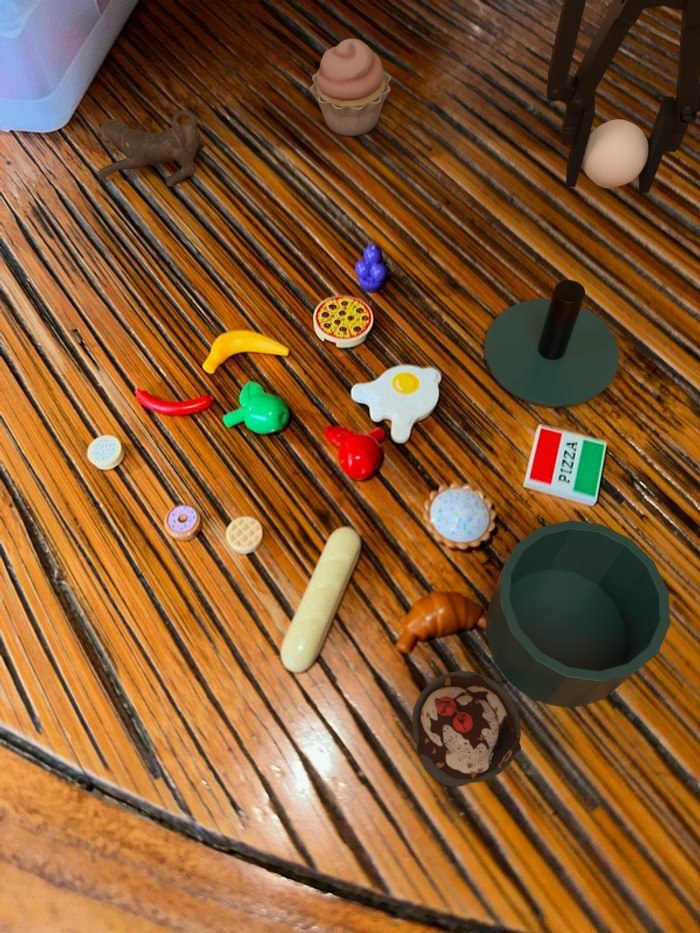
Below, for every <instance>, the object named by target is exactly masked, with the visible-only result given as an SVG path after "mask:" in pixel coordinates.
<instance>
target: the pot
mask: <svg viewBox="0 0 700 933" xmlns="http://www.w3.org/2000/svg"><path fill="white" fill-rule="evenodd" d="M669 593H670V592H669V589H668V588H667V586H666V583H665V581H664V579H663V576H662V575H661V573H660V571H659V568H658V567H657V565H656V563H655V561H654V560H653V559H652V558H651V556H649V555H648V554H647V553H646V552H645V551H644V550H643V549H642V548H641V547H640V546H639V545H638V544H637V543H636V542H635V541H634V540H633V539H632V538H630V537H628V536H626V535H625V534H622V533H620V532H618V531H616V530H614V529H612V528H610V527H608V526H605V525H604V524H601V523H595V522H589V521H587V522H586V521H580V520H571V519H569V520H564V521H560V522H556V523H552V524H548V525H544V526H540V527H538V528H536V529H535V530H533V531H532V532H531V533H530V534H528V535H527V536H525V537H524V538H523V539H522V540H520V541H519V542H517V543H516V544H515V545H514V547H513V548H512V550H511V552H510V554H509V555H508V558H507V560H506V562H505V564H504V565H503V567H502V569H501V571H500V575H499V576H498V580H497V581H496V585H495V587H494V590H493V592H492V595H491V598H490V601H489V602H488V605H487V614H486V620H485V634H486V635H485V636H486V642H487V646H488V649H489V652H490V654H491V656H492V659H493V661H494V663H495V664H496V667H497V668H498V669H499V671H500V672H501V673H502V675H503V676H504V677H505V679H506V680H507V681H508V682H509V683H510V684H511V685H512V686H514V688H516V689H517V690H518V691H519V692H521V693H522V694H524V695H526V696H527V697H529V698H531V699H533V700H535V701H537V702H540V703H543V704H545V705H546V704H547V705H550V706H555V707H563V708H576V707H583V706H587V705H591V704H593V703H597V702H600V701H602V700H605V699H606V698H607V697H608V696H610V695H611V694H612V693H613V692H614V691H615V690H616V689H617V688H619V687H620V686H621V685H622V684H624V683H625V682H626V681H627V680H629V679H630V678H631V677H632V676H633V675H634V674H635V673H637V672H638V671H639V670H640V669H641V668H642V667H643V666H645V665H646V664H647V663H649V662H650V661H651V660H652V659H653V658H654V657H655V656H657V655H658V654H659V652H660V650H661V647H662V645H663V643H664V640H665V638H666V635H667V633H668V631H669V628H670V626H671V615H670V613H671V612H670V594H669Z"/></svg>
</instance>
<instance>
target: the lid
mask: <svg viewBox="0 0 700 933" xmlns="http://www.w3.org/2000/svg"><path fill="white" fill-rule="evenodd" d="M585 297H586V289H585V287H584V285H582V283H580V282H578V281H576V280H573V279H564V280H561V281H559V282H558V283H556V285H555V286H554V289H553V293H552V296H551V298H536V299H534V298H533V299H528V300H525V301H521V302H518V303H516V304H514V305H512V306H510V307H508V308H506V309H505V310H504V311H502V312H501V313H500V314H498V315H497V316H496V318H495V319H494V320H493V321H492V323H490V326H489V328H488V330H487V333H486V335H485V338H484V340H485V341H484V346H483V347H484V349H483V350H484V359H485V362H486V365H487V368H488V370H489V372H490V373H491V375H492V376H493V378H494V380H496V382H497V383H498V384H499V385H500V386H501V387H502V388H503V389H504V390H506V391H507V392H509V394H512V395H513V396H514V397H516V398H518V399H520V400H522V401H524V402H526V403H530V404H532V405H533V404H534V405H536V406H541V407H547V408H568V407H573V406H578V405H583V404H585V403H587V402H590V401H592V400H593V399H595V398H597V397H598V396H600V395H601V394H602V393H604V392H605V391H606V390H607V388H609V386H610V385H611V383H612V382H613V381H614V379H615V376H616V375H617V372H618V369H619V364H620V349H619V346H618V342H617V340H616V337H615V335H614V333H613V332H612V330H611V329H610V328H609V326H608V325H607V324H606V323H605V321H603V320H602V319H601V318H600V316H598V315H596V314H595V313H594V312H593V311H591V310H589V309H587V308H585V307H583V303H584V299H585Z"/></svg>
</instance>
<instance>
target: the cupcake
mask: <svg viewBox="0 0 700 933" xmlns="http://www.w3.org/2000/svg"><path fill="white" fill-rule="evenodd" d="M311 79H312V82H313V84H312V85H311V86H310V88H309V91H310V93H311V94H312V95H313V97H314V98H315V100H316V101H317V102H318V105H319V108H320V110H321V112H322V116H323V119H324V122H325V124H326V126H327V127H328V128H329V129H330V130H331V131H332V132H333V133H335V134H337V135H340V136H343V137H357V136H363V135H365V134H367V133H369V132H371V131H372V130H374V129H375V127H376V126H377V125H378V122H379V120H380V116H381V112H382V108H383V106H384V103H385V101H386V99H387V97H388V95H389V94H390V92H391V87H390V85H389V83H390V81H391V79H392V76H391V75H390V74H389V73H387V72H384V66H383V64H382V61H381V58H380V57H379V56H378V55H377V54H376V53H375V52H374V51H373V50H371V48H370V47H369V46H368V45H367V44H366V43H365V42H363V41H362V40H360V39H357V38H345V39H344V40H342V41H341V42H339V43H338V44H337V45H336V46H333V47H331V48H328V49H327V50H326V51H325V52H324V53H323V56H322V58H321V60H320V64H319V68H318V70H317V72H316V73H314V74H313V75H312V76H311Z"/></svg>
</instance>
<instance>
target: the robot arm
mask: <svg viewBox="0 0 700 933" xmlns="http://www.w3.org/2000/svg"><path fill="white" fill-rule="evenodd" d="M586 3H587V0H563V1H562V5H561V11H560V14H559V18H558V19H559V20H558V24H557V29H556V32H555V33H556V34H555V38H554V43H553V49H552V51H551V56H550V61H549V66H548V70H547V81H546V98H547V100H548V101H550V102H552V103H553V102H555V103H556V102H559V101H560V102H563V103H564V104H565V105H566V106H565V110H564V115H563V120H562V122H561V130H560V131H561V132H560V133H561V134H560V140H561V144H562V145H564V146H570V149H569V152H568V156H567V161H566V174H565V187H566V188H576V186H577V184H578V180H579V176H580V172H581V168H582V161H583V157H584V153H585V150H586V146H587V142H588V139H589V135H590V134H591V132H592V127H593V124H594V120H595V116H596V90H597V89H598V88H599V85H600V83H601V81H602V79H603V78H604V76H605V75H606V72H607V70H608V69H609V67H610V65H611V63H612V62H613V60H614V58H615V56H616V55H617V52H618V51H619V49H620V47H621V45H622V43H623V42H624V41H625V38H626V36H627V35H628V33H629V32H630V29H631V27H632V26H634V25H636V23H637V21H638V20H639V18H640V16H641V14H642V13H643V11H644V9H654V8H659V7H666V8H670V9H672V10H675V11H681V19H680V20H681V22H680V37H679V50H678V51H679V52H678V63H677V64H678V66H677V67H678V68H677V80H676V96H669V95H663V97H662V100H661V103H660V105H659V108H658V112H657V115H656V117H655V120H654V123H653V125H652V129H651V132H650V134H649V137H648V139H647V141H648V158H647V162H646V164H645V166H644V168H643V170H642V171H641V172H640V174H639V175H638V176H637V177H638V193H640V194H649V193H650V191H651V188H652V186H653V183H654V180H655V177H656V175H657V173H658V169H659V167H660V164H661V162H662V159H663V156H664V153H665V152H667V153H676V152H677V151H678V150H679V149H680V148H681V145H682V142H683V140H684V138H685V135H686V133H687V130H688V127H689V125H692V124H693V123H695V122H696V120H697V119H698V118H697V117H698V113H699V112H700V0H612V2H611V4H610V7H609V9H608V10H607V12H606V15H605V16H604V18H603V20H602V21H601V23H600V26H599V27H598V29H597V32H595V35H594V37H593V39H592V41H591V43H590V45H589V47H588V49H587V51H586V53H585V55H584V56H583V59H582V61H581V62H580V64H579V66H578V68H577V69H576V72H575V73H574V74H570V70H571V66H572V63H573V62H572V61H573V57H574V55H575V54H574V53H575V49H576V45H577V40H578V37H579V32H580V28H581V23H582V20H583V16H584V11H585V7H586Z"/></svg>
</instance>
